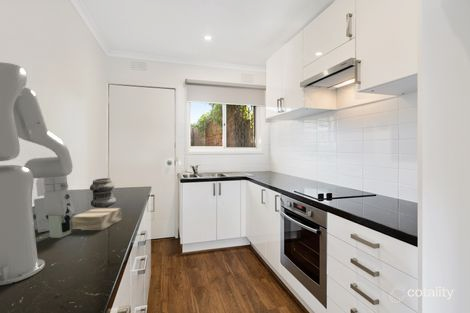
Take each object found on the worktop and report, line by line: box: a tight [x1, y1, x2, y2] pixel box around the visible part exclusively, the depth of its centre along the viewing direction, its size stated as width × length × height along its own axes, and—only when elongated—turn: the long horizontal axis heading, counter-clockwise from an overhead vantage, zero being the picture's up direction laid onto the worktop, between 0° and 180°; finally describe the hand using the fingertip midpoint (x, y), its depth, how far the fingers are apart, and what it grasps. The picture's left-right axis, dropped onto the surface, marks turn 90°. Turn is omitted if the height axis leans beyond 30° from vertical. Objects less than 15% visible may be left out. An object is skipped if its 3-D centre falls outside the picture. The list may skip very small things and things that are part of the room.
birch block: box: [71, 207, 123, 231], centre depth 111 cm, size 14×14×6 cm
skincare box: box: [33, 196, 50, 233], centre depth 107 cm, size 8×6×15 cm
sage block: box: [48, 215, 72, 239], centre depth 99 cm, size 5×5×9 cm
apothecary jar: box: [89, 177, 117, 208], centre depth 131 cm, size 12×12×18 cm
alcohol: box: [35, 178, 45, 197], centre depth 134 cm, size 9×9×30 cm
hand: (60, 230), depth 99 cm, fingers closed on sage block, 5 cm apart
